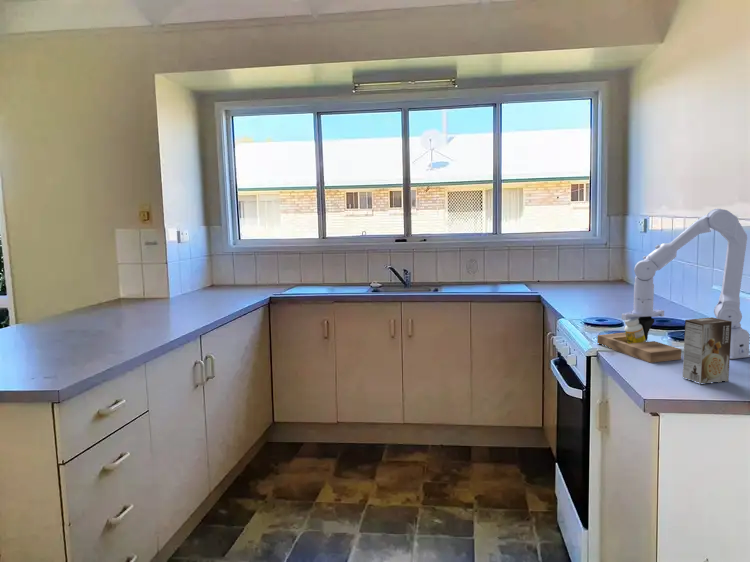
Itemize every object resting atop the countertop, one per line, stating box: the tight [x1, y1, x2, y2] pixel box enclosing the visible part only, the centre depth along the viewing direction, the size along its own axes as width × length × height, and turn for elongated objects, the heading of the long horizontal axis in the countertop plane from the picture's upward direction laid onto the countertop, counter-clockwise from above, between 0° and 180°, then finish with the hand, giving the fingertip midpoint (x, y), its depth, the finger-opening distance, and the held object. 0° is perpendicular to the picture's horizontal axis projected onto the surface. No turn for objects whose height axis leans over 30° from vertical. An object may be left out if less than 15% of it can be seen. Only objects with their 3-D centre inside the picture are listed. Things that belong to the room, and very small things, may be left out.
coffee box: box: [682, 317, 732, 384], centre depth 154 cm, size 9×6×16 cm
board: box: [596, 332, 682, 364], centre depth 185 cm, size 24×11×3 cm, turn 17°
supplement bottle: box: [624, 318, 647, 344], centre depth 188 cm, size 5×5×10 cm
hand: (642, 340), depth 189 cm, fingers closed, pressing on supplement bottle
